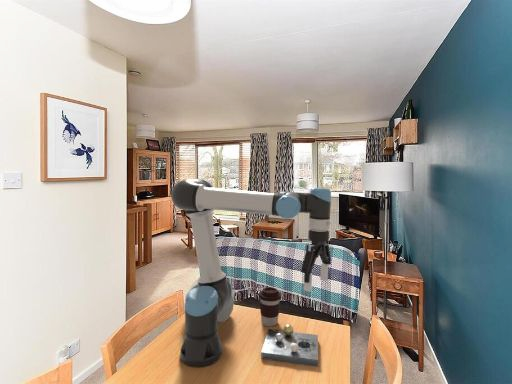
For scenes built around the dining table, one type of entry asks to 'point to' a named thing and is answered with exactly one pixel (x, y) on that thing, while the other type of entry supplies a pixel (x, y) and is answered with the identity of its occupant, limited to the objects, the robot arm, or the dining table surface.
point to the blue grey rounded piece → (226, 310)
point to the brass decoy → (288, 330)
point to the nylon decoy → (294, 347)
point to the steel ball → (279, 337)
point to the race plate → (282, 349)
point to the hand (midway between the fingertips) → (316, 285)
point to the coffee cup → (269, 306)
